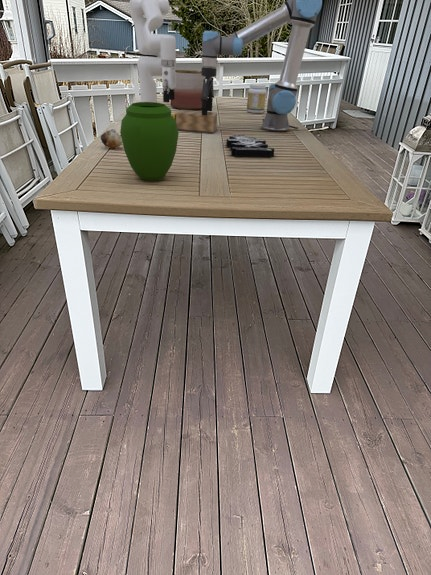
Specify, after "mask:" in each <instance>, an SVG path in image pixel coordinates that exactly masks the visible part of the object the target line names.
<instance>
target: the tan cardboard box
mask: <svg viewBox="0 0 431 575" xmlns="http://www.w3.org/2000/svg"><path fill="white" fill-rule="evenodd" d="M176 112H177V113H176ZM176 112H175V113H176V123H177V128H178V132H186V133H198V134H209V135H210V134H211V135H213V134H215V132H216V131H217V130H218V129H217V126H218V123H217V122H218V112H216V111H207V115H202V110H182V109H179V110H178V111H176Z"/></svg>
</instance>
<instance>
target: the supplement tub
mask: <svg viewBox="0 0 431 575" xmlns="http://www.w3.org/2000/svg"><path fill="white" fill-rule="evenodd" d="M266 87H267V86H266V84H264V83H250V84H249V88H248V90H247V102H246V111H247V112H248V113H250V114H251V113H252V114H263V113H265V112H266V111H265V110H266V101H267V100H266V99H267V89H266Z"/></svg>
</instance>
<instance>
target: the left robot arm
mask: <svg viewBox="0 0 431 575" xmlns="http://www.w3.org/2000/svg"><path fill="white" fill-rule="evenodd" d="M128 6H129V14H130V17H131V20H132V22H133V23H132V24H133V25H134V29H135V37H136V45H137V50H138V52H139V54H141V55H145V56H141V57H140V58H138V60H137V62H136V65H137V71H138V77H139V93H140V94H139V95H140V102H156V103H158V96H157V95H158V94H157V93H158V92H157V90H158V89H157V83H156V80H154V78H153V77H161V84H162V96H163V97H162V102H163V103H171V100H174V99H175V93H174V92H173V91H175V90H174V88H176V73H175V70H176V68H177V39H176V36H175V35H170V34H163V33H152V32H154V31H156V30H158V29H160V28H161V27H162V26H163V24H164V16H167V14H169V11H170V1H169V0H129V5H128Z"/></svg>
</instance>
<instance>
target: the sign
mask: <svg viewBox="0 0 431 575" xmlns="http://www.w3.org/2000/svg"><path fill="white" fill-rule="evenodd" d="M225 144H226V148H229V151H230V155H231V156H233V157H235V158H272V157H274V156H275V148H274V147H269V144H268V143H267V140H265V139H262V138H260V139H258V138H256V137H250V136H245V134H238V135H237V134H234V135H229V137H228V138H226V143H225Z"/></svg>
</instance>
